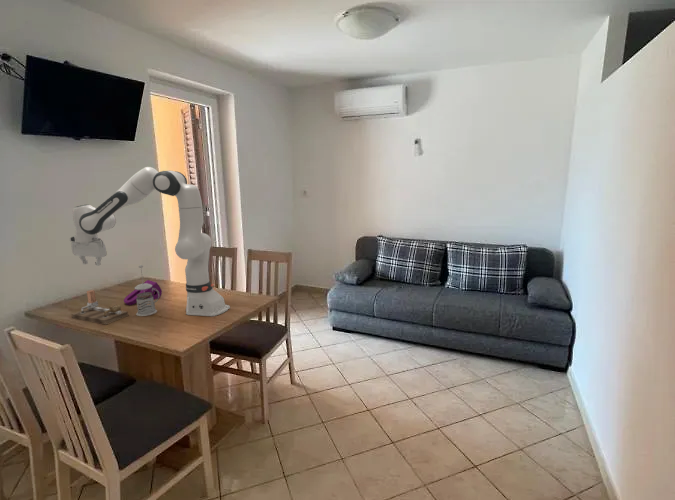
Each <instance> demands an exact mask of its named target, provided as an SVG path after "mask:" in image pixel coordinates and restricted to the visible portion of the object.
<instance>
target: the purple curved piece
mask: <svg viewBox="0 0 675 500" xmlns="http://www.w3.org/2000/svg"><path fill="white" fill-rule="evenodd" d="M143 283H147V284H151V285H152V287H151V288H149V289H145V290H136V289H135V288H134V290H133V291H131V292H130V293H129V294H128V295H126V296H125V297H124V299H123V302H124V304H125V305H127V306H132V305H134V304H137V300H136V298H137V294H140V293H145V292H151V293H152V295H153V299H154V301H156V300H157V299H158V297H159V298H161V296H162V292H163V290H162V288H161V287H160V286H159V284H158V282H156V281H153V280H149V279H147V280H146V281H143ZM152 288H153V291H152ZM154 288H155V290H154ZM156 289H157V290H158V291H159V296H158V292H157V291H156ZM146 298H151V297H145V299H146ZM158 300H159V299H158Z"/></svg>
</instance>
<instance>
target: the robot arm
mask: <svg viewBox="0 0 675 500" xmlns="http://www.w3.org/2000/svg"><path fill="white" fill-rule="evenodd" d="M154 191H157V192H159V193H160V194H164V195H168V196H170V197H176V199H177V207H178V214H179V216H178V218H179V230H178V239H177V243H176V245H175V248H174V251H175V254H176V255H177V256H178V258H180V259H182V260H187V261H186V265H185V269H184V272H185V282H186V283H185V291H186V306H185V307H186V308H185V311H186V312H185V315H187V316H199V317H200V316H202V317H216V316H218V315H221V314H223V313H225V312H227V311H229V310H230V309H231V306H230V305H229V304H226V303H225V302H226V301H225V298H224V296H222V295H221V294H219V292H218V291H216V290H215V289H214V288H213V287H214V285H215V284H214V283H211V281H210V274H209V262H210V261H209V259H210V254H211V253H210V251H211V248H212V245H213V241H212V238H211V236H210V235H209V234H207V233H205V232H202V231H203V230H202V229H203V225H204V224H205V223H204V222H205V221H204V210H203V208H204V207H203V201H202V197H201V193H200V190H199V187H198V186H196V185H194V184H189V183H188V180H187V177H186V175H184V174H183V173H182V172H179V171H176V170H175V171H174V170H161V171H158V169H156V168H154V167H152V166H145V167H143V168H141V169H140V170H138V171H136V173H134V174H133V175H132V176H131V177H129V178H128V180H127V181H126V182H124V183H123V185H121V186H120V188H119V189H117V190H116V191H115V192H114V193H113V194H112V195H111V196H110V197H108V198H107V199H106V200H105V201H104V202H102V203H101V204H100V205H99V206H98V207H94V206H92V205H91V204H82V205H77V206H74V207H73V210H72V221H73V225H74V227H75V231H74V233H75V234H74V235H73V236H70V237H69V241H70V242H71V243H70V245H71V252H72V254H73V255H74V256H78V257H79V259H80V260H81V264H82V265H88V264H89V263H88V259H86V257H92V258H95V259H96V261H95V262H94V263H95V264H94V265H95V266H97V267H98V266H101V265H102V260H103V259H102V258H104V257H107V255H108V251H107V248H106V245H105V243H104V240H102V239H101V238H99V237H98V233H101V232H105V231H107V230H110V229H112V228H114V227H115V225H116V223H117V219H116V216H115V215H114V214H115V213H116V212H117V211H119V210H120V209H123V208H124V207H127V206H130V205H134V204H138V203H139V202H142V201H143V200H144V199H146V198H147V197H149V196H150V195H151V194H152V193H153V192H154ZM228 309H229V310H228Z"/></svg>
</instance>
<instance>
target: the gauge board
mask: <svg viewBox="0 0 675 500" xmlns="http://www.w3.org/2000/svg"><path fill="white" fill-rule="evenodd" d="M83 311H84V312H82V310H79V311H77V312H73V313H72V314H71V318H72V319H75V320H76V319H77V320H81V321H86V322H92V323H97V324H102V325H107V324H111V323H113V322H116V321H118V320H120V319H123V318H126V317H128V316H129V312H128V311H126V310H122V309H121V305H120V304H113V305H111V306H109V307H108V308H107V307H102V306H96V307H93V308H86V309H83Z"/></svg>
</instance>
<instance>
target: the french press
mask: <svg viewBox="0 0 675 500" xmlns="http://www.w3.org/2000/svg"><path fill="white" fill-rule="evenodd" d="M143 267H144V265H143V264H139V266H138V268H139V269H140V272H141V274H143V272H142V269H143ZM141 279H142V281H141V282H142V283H140V284H137V285H136V286H134V290H135V289H136V290H145V289H149V288H151V287H152V285H151V284H147V283H144V281H143V280H144V278H143V276H141ZM154 290H155V288H154ZM152 291H153V288H152ZM156 291H157V292H158V296H159V291H158V290H157V289H156ZM146 297H147V298H146ZM148 297H151V298H148ZM159 298H160V297H158V299H155V300H154V299H153V295H152V293H151V292H145V293H140V294H137V298H136V300H137V303H136V305H137V312H136V313H135V315H136V316H137V317H138V316H139V317H145V316H151V315H154V314H156V313H158V310H157V309H156V305H155V303H156V302H158V300H159Z"/></svg>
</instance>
